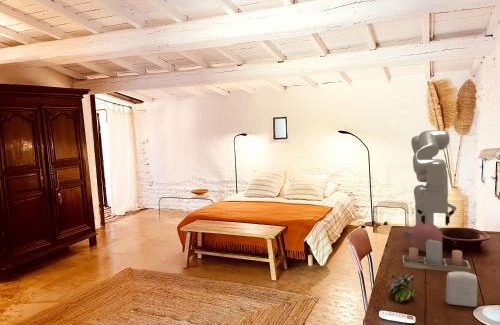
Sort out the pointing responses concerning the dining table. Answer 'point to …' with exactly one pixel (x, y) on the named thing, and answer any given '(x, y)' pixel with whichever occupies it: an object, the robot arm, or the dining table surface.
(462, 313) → the dining table surface
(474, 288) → the grey speaker
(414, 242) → the balloon
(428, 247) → the skincare box
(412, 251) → the grey divided tray
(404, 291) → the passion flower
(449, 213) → the robot arm
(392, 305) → the dining table surface
